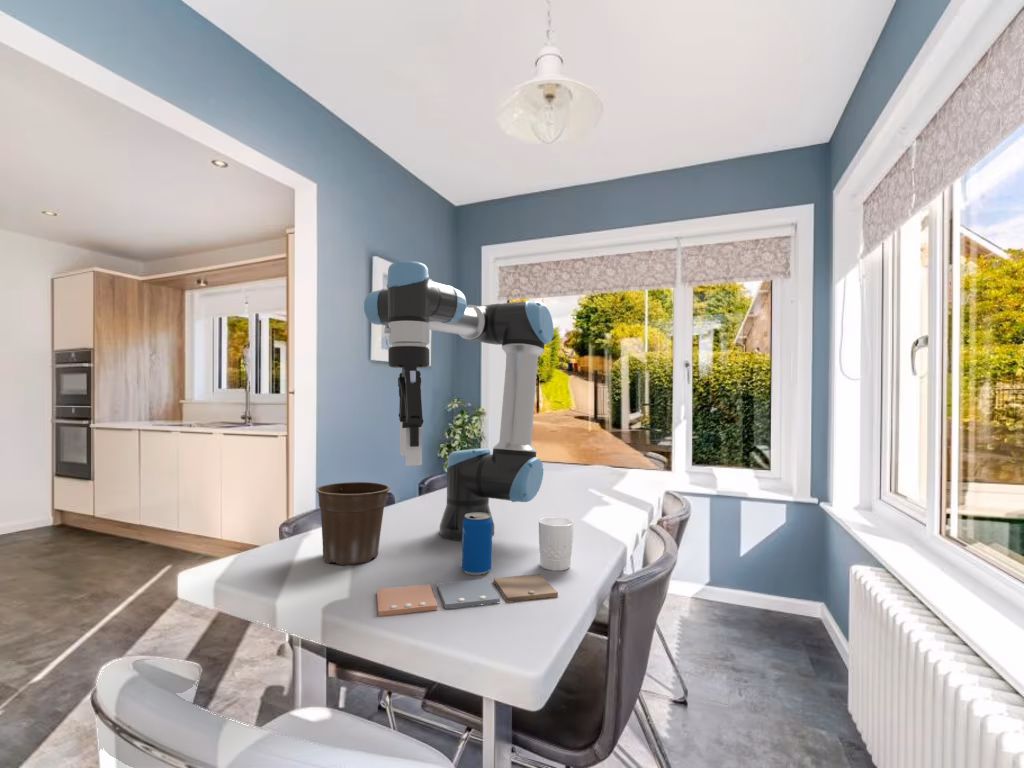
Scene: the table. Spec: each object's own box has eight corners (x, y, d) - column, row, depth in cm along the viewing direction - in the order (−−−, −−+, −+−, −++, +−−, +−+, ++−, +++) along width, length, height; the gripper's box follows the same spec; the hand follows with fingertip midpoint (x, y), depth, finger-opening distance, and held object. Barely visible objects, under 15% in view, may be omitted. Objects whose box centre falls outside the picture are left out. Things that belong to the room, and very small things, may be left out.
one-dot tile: (493, 582, 99) (493, 577, 99) (539, 577, 102) (539, 572, 102) (507, 602, 89) (507, 596, 89) (557, 596, 92) (557, 591, 92)
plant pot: (373, 542, 124) (375, 479, 124) (398, 560, 111) (400, 489, 111) (306, 553, 114) (308, 484, 115) (325, 574, 101) (327, 496, 102)
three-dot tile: (376, 593, 92) (376, 587, 92) (429, 588, 95) (429, 583, 95) (378, 616, 83) (378, 610, 83) (437, 609, 86) (437, 604, 86)
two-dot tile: (437, 587, 96) (437, 582, 96) (486, 582, 99) (486, 577, 99) (445, 608, 86) (445, 603, 86) (499, 603, 89) (499, 597, 89)
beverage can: (458, 567, 107) (459, 512, 107) (486, 564, 109) (487, 511, 110) (465, 578, 101) (467, 520, 101) (495, 574, 103) (496, 517, 104)
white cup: (550, 557, 115) (551, 515, 115) (579, 565, 110) (580, 521, 110) (530, 566, 109) (531, 521, 109) (560, 574, 104) (560, 527, 104)
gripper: (385, 350, 102) (386, 452, 101) (392, 339, 78) (393, 471, 78) (421, 351, 104) (422, 450, 104) (438, 340, 80) (440, 469, 80)
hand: (410, 459), depth 91 cm, fingers open, 13 cm apart
